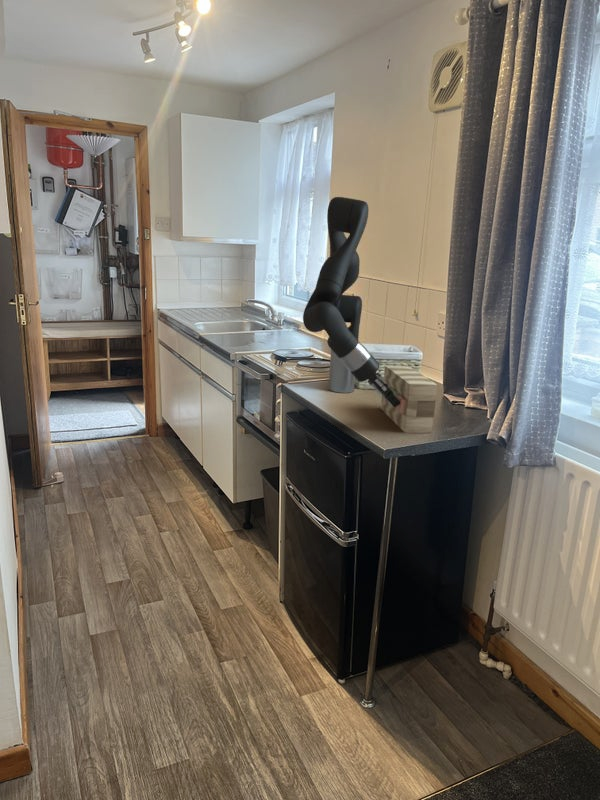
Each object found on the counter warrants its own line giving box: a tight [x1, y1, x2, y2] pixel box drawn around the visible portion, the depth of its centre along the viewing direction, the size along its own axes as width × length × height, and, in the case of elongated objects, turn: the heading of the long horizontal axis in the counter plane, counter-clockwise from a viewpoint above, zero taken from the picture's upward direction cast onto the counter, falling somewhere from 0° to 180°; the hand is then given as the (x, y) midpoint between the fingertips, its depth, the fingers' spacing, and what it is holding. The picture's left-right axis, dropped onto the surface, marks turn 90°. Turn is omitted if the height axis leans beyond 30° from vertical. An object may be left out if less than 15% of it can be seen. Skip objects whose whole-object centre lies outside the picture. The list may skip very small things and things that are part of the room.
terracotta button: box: [396, 396, 406, 414], centre depth 167 cm, size 4×3×4 cm
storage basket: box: [355, 342, 424, 391], centre depth 216 cm, size 24×16×15 cm
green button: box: [388, 389, 398, 406], centre depth 174 cm, size 4×3×4 cm
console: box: [380, 366, 438, 434], centre depth 175 cm, size 24×8×14 cm, turn 8°
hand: (397, 404), depth 166 cm, fingers closed
